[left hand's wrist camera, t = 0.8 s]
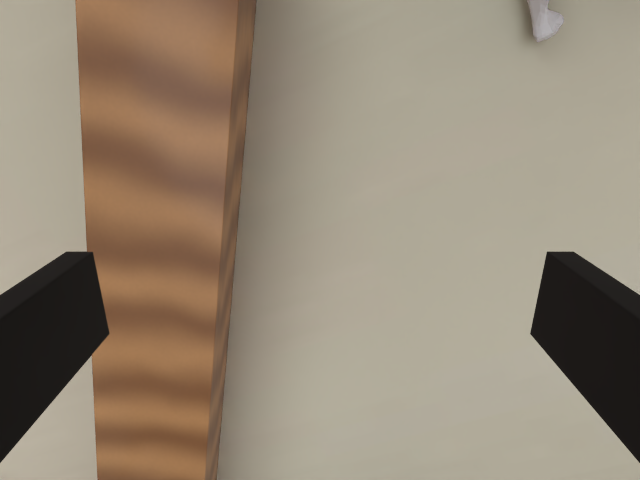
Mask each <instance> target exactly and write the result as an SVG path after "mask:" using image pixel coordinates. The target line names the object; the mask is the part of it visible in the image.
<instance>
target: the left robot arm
mask: <svg viewBox="0 0 640 480" xmlns="http://www.w3.org/2000/svg"><path fill="white" fill-rule="evenodd" d="M109 334H110V333H109V328H108V323H107V318H106V313H105V309H104V304H103V299H102V294H101V289H100V284H99V279H98V274H97V269H96V264H95V259H94V255H93V252H65V253H64V254H62V255H61V256H59V257H58V258H56V259H55V260H53V261H52V262H50V263H49V264H47V265H45V266H44V267H42V268H41V269H39V270H38V271H36V272H35V273H33V274H32V275H30V276H29V277H27V278H26V279H24V280H23V281H21V282H20V283H18V284H16V285H15V286H13V287H12V288H10V289H9V290H7V291H6V292H4V293H3V294H1V295H0V463H1V461H2V460H3V459H4V458H5V457H6V455H7V454H8V453H9V452H10V451H11V450H12V448H13V447H14V446H15V445H16V444H17V442H18V441H19V440H20V439H21V438H22V437H23V435H24V434H25V433H26V432H27V431H28V430H29V428H30V427H31V426H32V425H33V424H34V422H35V421H36V420H37V419H38V418H39V417H40V415H41V414H42V413H43V412H44V411H45V409H46V408H47V407H48V406H49V405H50V404H51V402H52V401H53V400H54V399H55V398H56V396H57V395H58V394H59V393H60V392H61V391H62V389H63V388H64V387H65V386H66V385H67V384H68V382H69V381H70V380H71V379H72V378H73V376H74V375H75V374H76V373H77V372H78V371H79V369H80V368H81V367H82V366H83V365H84V363H85V362H86V361H87V360H88V359H89V358H90V356H91V355H92V354H93V353H94V352H95V350H96V349H97V348H98V347H99V346H100V345H101V343H102V342H103V341H104V340H105V339H106V337H107V336H108V335H109ZM530 334H531V335H532V336H533V337H534V339H535V340H536V341H537V342H538V343H539V345H540V346H541V347H542V348H543V349H544V350H545V352H546V353H547V354H548V355H549V356H550V358H551V359H552V360H553V361H554V362H555V363H556V365H557V366H558V367H559V368H560V369H561V371H562V372H563V373H564V374H565V375H566V376H567V378H568V379H569V380H570V381H571V382H572V384H573V385H574V386H575V387H576V388H577V389H578V391H579V392H580V393H581V394H582V395H583V396H584V398H585V399H586V400H587V401H588V402H589V404H590V405H591V406H592V407H593V408H594V409H595V411H596V412H597V413H598V414H599V415H600V417H601V418H602V419H603V420H604V421H605V422H606V424H607V425H608V426H609V427H610V428H611V430H612V431H613V432H614V433H615V434H616V435H617V437H618V438H619V439H620V440H621V441H622V442H623V444H624V445H625V446H626V447H627V448H628V450H629V451H630V452H631V453H632V454H633V455H634V457H635V458H636V459H637V460H638V461H639V463H640V295H639V294H637V293H636V292H634V291H633V290H631V289H630V288H628V287H627V286H625V285H624V284H622V283H620V282H619V281H617V280H616V279H614V278H613V277H611V276H610V275H608V274H607V273H605V272H604V271H602V270H601V269H599V268H598V267H596V266H595V265H593V264H591V263H590V262H588V261H587V260H585V259H584V258H582V257H581V256H579V255H578V254H576V253H575V252H547V255H546V259H545V264H544V269H543V274H542V279H541V284H540V289H539V294H538V299H537V304H536V309H535V313H534V318H533V323H532V328H531V333H530Z"/></svg>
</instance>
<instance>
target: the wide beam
mask: <svg viewBox="0 0 640 480" xmlns="http://www.w3.org/2000/svg"><path fill="white" fill-rule="evenodd" d="M255 11H256V0H76V21H77V43H78V64H79V86H80V108H81V129H82V151H83V173H84V194H85V216H86V238H87V252H93V255H94V259H95V264H96V269H97V274H98V279H99V284H100V289H101V294H102V299H103V304H104V309H105V313H106V318H107V323H108V328H109V333H110V334H109V335H108V336H107V337H106V339H105V340H104V341H103V342H102V343H101V345H100V346H99V347H98V348H97V349H96V350H95V352H94V353H93V354H92V368H93V389H94V411H95V433H96V454H97V476H98V480H216V478H217V466H218V454H219V442H220V430H221V418H222V406H223V394H224V382H225V370H226V358H227V347H228V335H229V323H230V311H231V299H232V287H233V275H234V263H235V251H236V239H237V227H238V215H239V203H240V191H241V179H242V167H243V155H244V143H245V131H246V119H247V107H248V95H249V83H250V71H251V59H252V47H253V35H254V23H255Z"/></svg>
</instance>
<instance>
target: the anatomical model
mask: <svg viewBox="0 0 640 480" xmlns="http://www.w3.org/2000/svg"><path fill="white" fill-rule="evenodd" d="M527 2H528V5H529V9H530V14H531V19H532V27H533V36H534V38H535V40H536V41H537V42H540V41H543V40H545V39H548V38H550V37H552V36H553V35H554V34H556V33H557V32H558V30H559V28H560V27H561V25H562V24H563V22H564V19H563V16H562V15H561V14H560V13H558V12H555V11H552V10H549V9H548V3H549V0H527Z"/></svg>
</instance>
